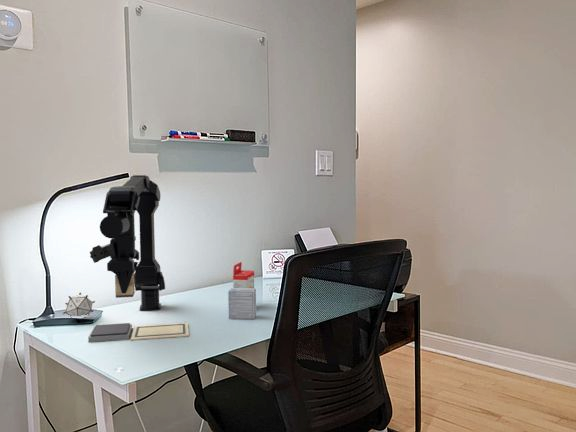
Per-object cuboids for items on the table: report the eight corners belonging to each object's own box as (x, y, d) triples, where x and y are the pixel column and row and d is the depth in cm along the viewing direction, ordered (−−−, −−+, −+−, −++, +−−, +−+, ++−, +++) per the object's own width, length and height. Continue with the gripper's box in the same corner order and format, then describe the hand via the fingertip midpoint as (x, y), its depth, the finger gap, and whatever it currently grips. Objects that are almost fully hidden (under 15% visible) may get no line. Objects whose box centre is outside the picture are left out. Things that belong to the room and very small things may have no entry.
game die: (75, 334, 146) (52, 312, 141) (78, 317, 153) (57, 295, 148) (101, 319, 146) (80, 296, 141) (103, 303, 153) (83, 280, 149)
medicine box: (256, 315, 152) (256, 288, 152) (254, 319, 148) (253, 291, 147) (231, 315, 153) (231, 287, 152) (228, 319, 149) (227, 290, 148)
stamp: (117, 293, 135) (117, 272, 135) (134, 293, 136) (134, 271, 136) (115, 297, 131) (115, 275, 131) (132, 296, 132) (132, 274, 131)
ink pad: (94, 330, 137) (94, 324, 137) (132, 328, 139) (131, 322, 139) (88, 342, 127) (88, 335, 127) (128, 339, 130) (128, 332, 130)
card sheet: (134, 327, 140) (134, 325, 140) (187, 323, 144) (187, 322, 144) (130, 340, 129) (130, 338, 129) (188, 336, 132) (188, 334, 132)
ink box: (247, 311, 157) (247, 266, 156) (232, 311, 158) (232, 265, 157) (254, 305, 165) (254, 261, 164) (240, 304, 166) (240, 261, 165)
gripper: (98, 230, 140) (99, 285, 141) (84, 238, 122) (86, 301, 123) (138, 230, 142) (140, 283, 143) (131, 237, 124) (133, 298, 125)
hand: (125, 291), depth 133 cm, fingers closed on stamp, 4 cm apart
